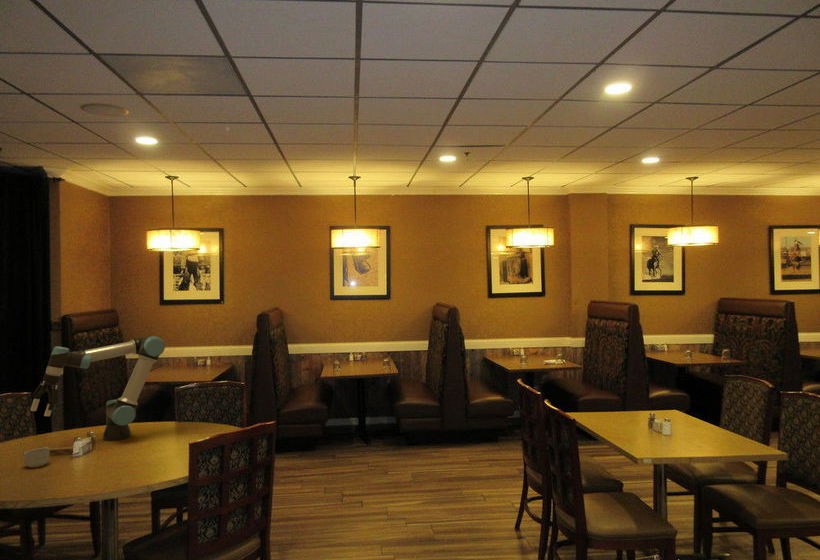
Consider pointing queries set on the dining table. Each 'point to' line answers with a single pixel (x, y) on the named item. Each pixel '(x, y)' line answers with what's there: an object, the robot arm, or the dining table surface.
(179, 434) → the dining table surface
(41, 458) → the teacup
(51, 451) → the stop bar
